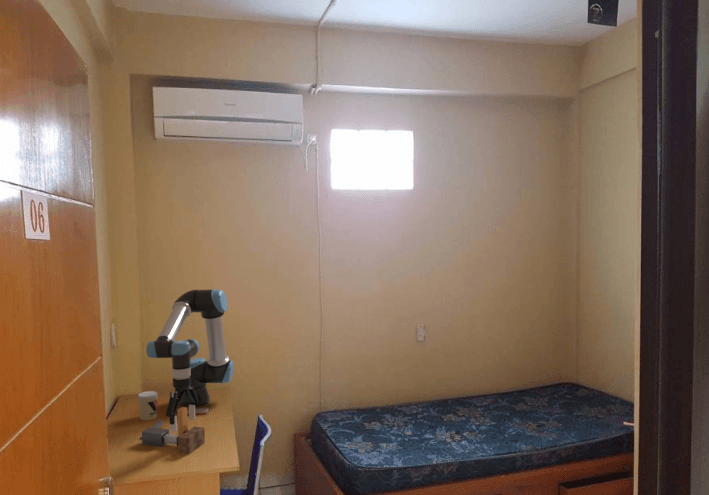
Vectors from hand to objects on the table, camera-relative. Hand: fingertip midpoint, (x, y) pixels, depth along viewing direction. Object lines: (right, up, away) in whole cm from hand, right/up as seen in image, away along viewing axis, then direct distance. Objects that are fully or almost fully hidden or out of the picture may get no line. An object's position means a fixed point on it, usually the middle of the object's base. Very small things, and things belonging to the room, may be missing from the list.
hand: (183, 425), depth 233 cm
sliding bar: (-5, -9, +2) cm, 10 cm away
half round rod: (-21, -10, +19) cm, 30 cm away
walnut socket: (+4, -10, -1) cm, 11 cm away
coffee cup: (-29, -8, +36) cm, 47 cm away
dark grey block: (-14, -10, +5) cm, 17 cm away
